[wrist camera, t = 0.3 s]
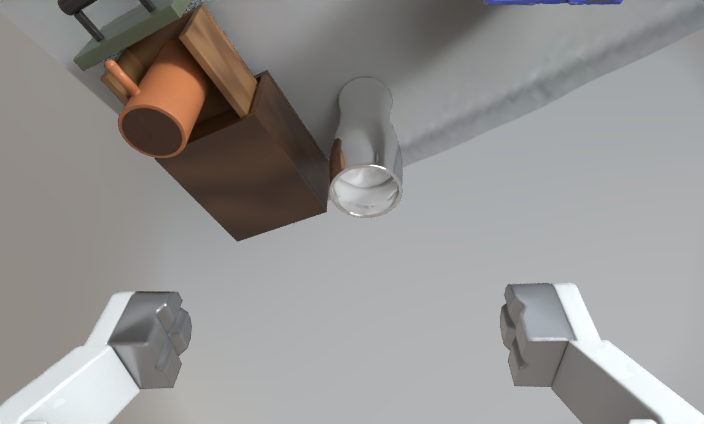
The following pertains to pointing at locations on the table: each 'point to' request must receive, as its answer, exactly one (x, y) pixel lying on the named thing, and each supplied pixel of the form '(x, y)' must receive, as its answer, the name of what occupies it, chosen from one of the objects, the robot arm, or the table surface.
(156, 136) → the orange mug
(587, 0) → the ink cartridge box
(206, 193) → the cabinet
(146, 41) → the drawer
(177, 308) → the robot arm
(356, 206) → the beer glass
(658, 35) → the table surface
